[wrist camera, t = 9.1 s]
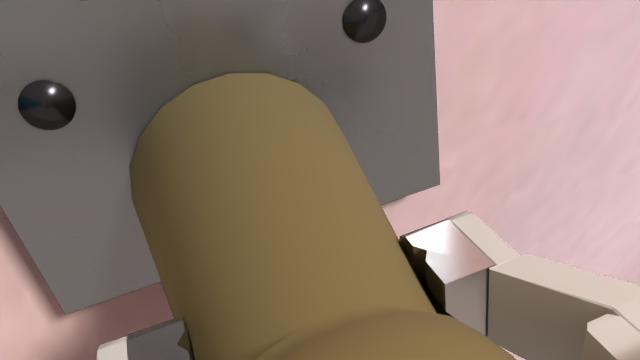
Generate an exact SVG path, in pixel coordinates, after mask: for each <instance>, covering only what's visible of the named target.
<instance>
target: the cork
mask: <svg viewBox="0 0 640 360" xmlns="http://www.w3.org/2000/svg"><path fill="white" fill-rule="evenodd" d="M130 180H131V192H132V202H133V205H134V207H135V210H136V213H137V216H138V219H139V221H140V224H141V227H142V230H143V232H144V235H145V238H146V241H147V244H148V246H149V249H150V252H151V255H152V257H153V260H154V263H155V266H156V268H157V271H158V274H159V277H160V280H161V282H162V285H163V288H164V291H165V293H166V296H167V299H168V302H169V305H170V307H171V310H172V313H173V316H174V318H175V319H176V318H179V317H181V316H183V317H184V319H185V322H186V326H187V330H188V333H189V337H190V341H191V345H192V348H193V354H194V360H516V359H515V358H514V357H513V356H512V355H511V354H509V353H508V352H506V351H505V350H504V349H502V348H501V347H499V346H498V345H497V344H495V343H494V342H493V341H491V340H490V339H488V338H487V337H486V336H484V335H483V334H482V333H480V332H478V331H476V330H475V329H473V328H471V327H469V326H467V325H466V324H464V323H462V322H460V321H458V320H457V319H455V318H453V317H451V316H447V315H442V314H437V312H436V310H435V308H434V307H433V305H432V303H431V301H430V299H429V297H428V295H427V293H426V291H425V289H424V287H423V285H422V284H421V282H420V280H419V278H418V276H417V274H416V273H415V271H414V269H413V268H412V266H411V264H410V262H409V260H408V259H407V257H406V255H405V253H404V251H403V250H402V248H401V246H400V244H399V240H398V238H397V236H396V234H395V232H394V230H393V228H392V226H391V224H390V222H389V220H388V219H387V217H386V215H385V213H384V211H383V209H382V207H381V205H380V203H379V201H378V199H377V198H376V196H375V194H374V192H373V190H372V188H371V186H370V184H369V182H368V180H367V178H366V177H365V175H364V173H363V171H362V169H361V167H360V165H359V163H358V161H357V159H356V157H355V155H354V154H353V152H352V150H351V148H350V146H349V144H348V142H347V140H346V138H345V136H344V134H343V133H342V131H341V129H340V127H339V125H338V124H337V122H336V121H335V119H334V117H333V116H332V114H331V113H330V111H329V109H328V108H327V106H326V105H325V103H324V102H323V101H321V100H320V99H319V98H317V97H316V96H315V95H313V94H312V93H311V92H310V91H308V90H307V89H306V88H304V87H303V86H302V85H300V84H299V83H296V82H293V81H290V80H286V79H283V78H280V77H277V76H274V75H271V74H268V73H229V74H226V75H223V76H220V77H217V78H213V79H210V80H207V81H204V82H201V83H198V84H195V85H192V86H191V87H189V88H188V89H187V90H185V91H184V92H182V93H181V94H180V95H178V96H177V97H175V98H174V99H172V100H171V101H170V102H168V103H167V104H165V105H164V106H163V107H161V109H160V110H159V111H158V113H157V114H156V115H155V117H154V118H153V119H152V121H151V122H150V123H149V125H148V126H147V127H146V129H145V130H144V131H143V133H142V134H141V135H140V137H139V140H138V144H137V147H136V150H135V154H134V157H133V160H132V163H131V167H130Z"/></svg>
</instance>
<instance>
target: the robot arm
mask: <svg viewBox="0 0 640 360" xmlns="http://www.w3.org/2000/svg"><path fill="white" fill-rule="evenodd" d="M399 244H400V246H401V248H402V250H403V251H404V253H405V255H406V257H407V259H408V260H409V262H410V264H411V266H412V268H413V269H414V271H415V273H416V274H417V276H418V278H419V280H420V282H421V284H422V285H423V287H424V289H425V291H426V293H427V295H428V297H429V299H430V301H431V303H432V305H433V307H434V308H435V310H436V312H437V314H442V315H447V316H451V317H453V318H455V319H457V320H458V321H460V322H462V323H464V324H466V325H467V326H469V327H471V328H473V329H475V330H476V331H478V332H480V333H482V334H483V335H484V336H486V337H487V338H488V339H490V340H491V341H493V342H494V343H495V344H497V345H498V346H500V347H502V348H505V349H506V350H508V351H510V352H512V353H514V354H516V355H518V356H520V357H522V358H524V359H526V360H640V285H637V284H633V283H630V282H626V281H623V280H619V279H616V278H612V277H609V276H605V275H602V274H598V273H594V272H591V271H587V270H584V269H580V268H577V267H573V266H570V265H566V264H563V263H559V262H556V261H552V260H549V259H545V258H542V257H538V256H535V255H531V254H528V253H527V254H524V255H521V256H520V255H519V254H518V253H517V252H516V251H515V250H514V249H513V248H511V247H510V246H509V245H508V244H507V243H506V242H505V241H504V240H503V239H502V238H500V237H499V236H498V235H497V234H496V233H495V232H494V231H493V230H492V229H491V228H489V227H488V226H487V225H486V224H485V223H484V222H483V221H482V220H481V219H480V218H478V217H477V216H476V215H475V214H474V213H473V212H471V211H468V210H467V211H464V212H462V213H459V214H457V215H454V216H452V217H449V218H446V219H445V220H442V221H439V222H437V223H434V224H431V225H429V226H426V227H423V228H421V229H418V230H415V231H413V232H410V233H407V234H405V235H402V236H400V239H399ZM96 360H194V354H193V348H192V345H191V341H190V337H189V333H188V330H187V326H186V322H185V319H184V317H183V316H181V317H179V318H176V319H173V320H170V321H167V322H164V323H161V324H158V325H155V326H152V327H149V328H146V329H143V330H140V331H138V332H135V333H132V334H129V335H128V336H125V337H122V338H119V339H116V340H113V341H110V342H107V343H104V344H101V345H99V348H98V350H97V356H96Z"/></svg>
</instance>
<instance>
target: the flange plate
mask: <svg viewBox="0 0 640 360" xmlns="http://www.w3.org/2000/svg"><path fill="white" fill-rule="evenodd" d="M229 73H268V74H271V75H274V76H277V77H280V78H283V79H286V80H290V81H293V82H296V83H299V84H300V85H302V86H303V87H304V88H306V89H307V90H308V91H310V92H311V93H312V94H313V95H315V96H316V97H317V98H319V99H320V100H321V101H323V102H324V103H325V105H326V106H327V108H328V109H329V111H330V113H331V114H332V116H333V117H334V119H335V121H336V122H337V124H338V125H339V127H340V129H341V131H342V133H343V134H344V136H345V138H346V140H347V142H348V144H349V146H350V148H351V150H352V152H353V154H354V155H355V157H356V159H357V161H358V163H359V165H360V167H361V169H362V171H363V173H364V175H365V177H366V178H367V180H368V182H369V184H370V186H371V188H372V190H373V192H374V194H375V196H376V198H377V199H378V201H379V203H380V205H382V204H385V203H388V202H391V201H394V200H397V199H400V198H403V197H405V196H408V195H411V194H414V193H417V192H420V191H423V190H426V189H428V188H431V187H434V186H437V185H440V171H439V147H438V122H437V97H436V73H435V48H434V24H433V0H0V205H1V207H2V209H3V210H4V212H5V214H6V216H7V217H8V219H9V221H10V222H11V224H12V226H13V227H14V229H15V231H16V232H17V234H18V236H19V237H20V239H21V241H22V242H23V244H24V246H25V247H26V249H27V251H28V252H29V254H30V256H31V258H32V259H33V261H34V263H35V264H36V266H37V268H38V269H39V271H40V273H41V274H42V276H43V278H44V279H45V281H46V283H47V284H48V286H49V288H50V289H51V291H52V293H53V295H54V296H55V298H56V300H57V301H58V303H59V305H60V306H61V308H62V310H63V311H64V313H65V315H66V314H68V313H71V312H74V311H77V310H80V309H83V308H86V307H89V306H91V305H94V304H97V303H100V302H103V301H106V300H109V299H112V298H115V297H117V296H120V295H123V294H126V293H129V292H132V291H135V290H138V289H140V288H143V287H146V286H149V285H152V284H155V283H158V282H161V280H160V277H159V274H158V271H157V268H156V266H155V263H154V260H153V257H152V255H151V252H150V249H149V246H148V244H147V241H146V238H145V235H144V232H143V230H142V227H141V224H140V221H139V219H138V216H137V213H136V210H135V207H134V205H133V202H132V192H131V180H130V167H131V163H132V160H133V157H134V154H135V150H136V147H137V144H138V140H139V137H140V135H141V134H142V133H143V131H144V130H145V129H146V127H147V126H148V125H149V123H150V122H151V121H152V119H153V118H154V117H155V115H156V114H157V113H158V111H159V110H160V109H161V107H163V106H164V105H165V104H167V103H168V102H170V101H171V100H172V99H174V98H175V97H177V96H178V95H180V94H181V93H182V92H184V91H185V90H187V89H188V88H189V87H191V86H192V85H195V84H198V83H201V82H204V81H207V80H210V79H213V78H217V77H220V76H223V75H226V74H229Z"/></svg>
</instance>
